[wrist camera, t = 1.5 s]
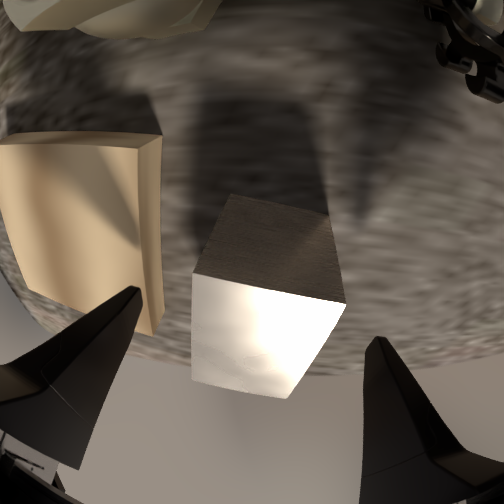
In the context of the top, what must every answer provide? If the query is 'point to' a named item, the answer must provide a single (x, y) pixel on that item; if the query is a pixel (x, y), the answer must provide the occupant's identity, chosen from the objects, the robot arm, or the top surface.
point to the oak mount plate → (85, 216)
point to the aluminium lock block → (263, 296)
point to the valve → (206, 3)
